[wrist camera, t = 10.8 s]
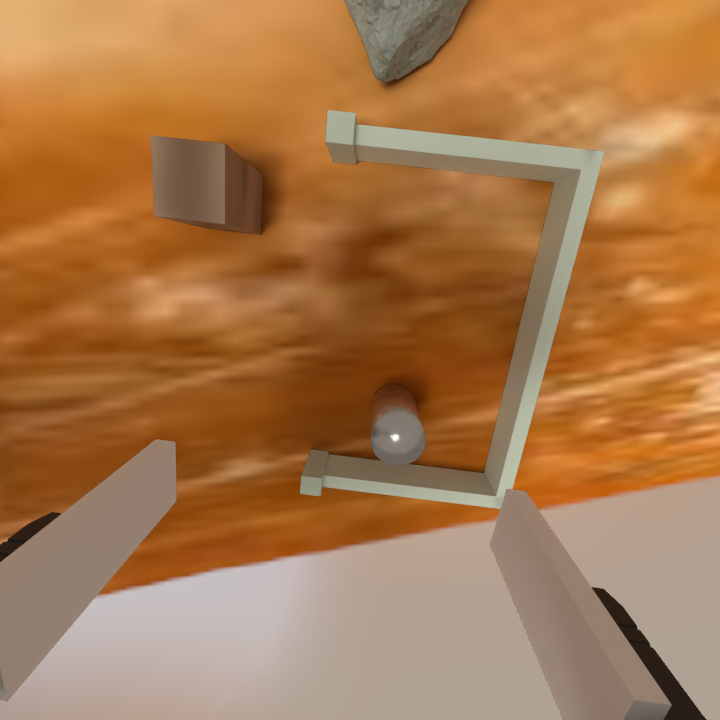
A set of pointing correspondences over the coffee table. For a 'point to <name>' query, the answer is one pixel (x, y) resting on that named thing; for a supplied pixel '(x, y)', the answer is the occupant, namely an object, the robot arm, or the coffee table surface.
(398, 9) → the decorative stone
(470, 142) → the bay
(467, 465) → the coffee table surface
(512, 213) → the coffee table surface
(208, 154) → the walnut block
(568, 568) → the robot arm
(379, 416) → the metal cylinder
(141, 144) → the coffee table surface
